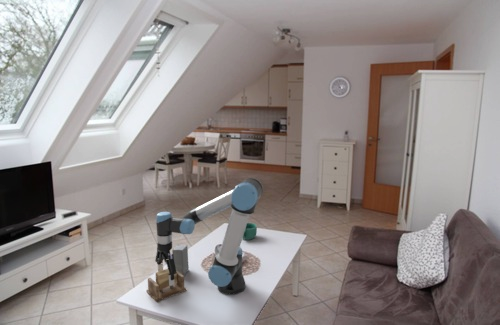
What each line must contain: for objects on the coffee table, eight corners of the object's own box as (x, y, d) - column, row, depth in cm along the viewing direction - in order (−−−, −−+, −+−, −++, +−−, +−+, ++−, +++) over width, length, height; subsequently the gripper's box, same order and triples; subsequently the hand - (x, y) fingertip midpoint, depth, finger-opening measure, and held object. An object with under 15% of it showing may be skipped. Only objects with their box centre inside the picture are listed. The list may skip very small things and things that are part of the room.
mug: (245, 233, 259) (245, 221, 258) (259, 236, 253) (259, 224, 252) (233, 240, 245) (233, 228, 244) (248, 244, 239) (248, 231, 237)
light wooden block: (176, 283, 181) (176, 269, 179) (159, 289, 174) (158, 275, 173) (173, 280, 184) (172, 266, 182) (156, 286, 177) (155, 272, 176)
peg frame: (186, 290, 181) (185, 276, 179) (156, 302, 170) (156, 287, 168) (175, 281, 190) (174, 268, 188) (146, 291, 179) (145, 278, 177)
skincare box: (183, 276, 195) (183, 250, 192) (172, 275, 196) (171, 249, 193) (189, 269, 203) (188, 244, 200) (178, 268, 204) (177, 243, 202)
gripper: (182, 247, 168) (183, 287, 172) (160, 232, 186) (162, 269, 190) (169, 251, 163) (170, 292, 167) (147, 236, 181) (149, 273, 185)
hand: (166, 280), depth 179 cm, fingers open, 12 cm apart
